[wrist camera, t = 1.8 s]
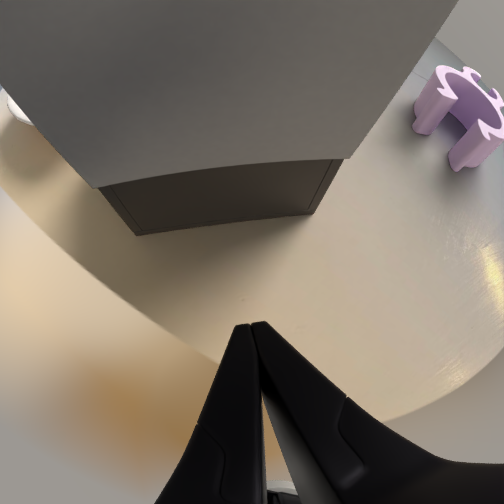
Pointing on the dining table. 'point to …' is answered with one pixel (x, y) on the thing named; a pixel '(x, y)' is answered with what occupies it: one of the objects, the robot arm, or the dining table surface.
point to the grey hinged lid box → (222, 195)
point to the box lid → (207, 78)
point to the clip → (461, 114)
